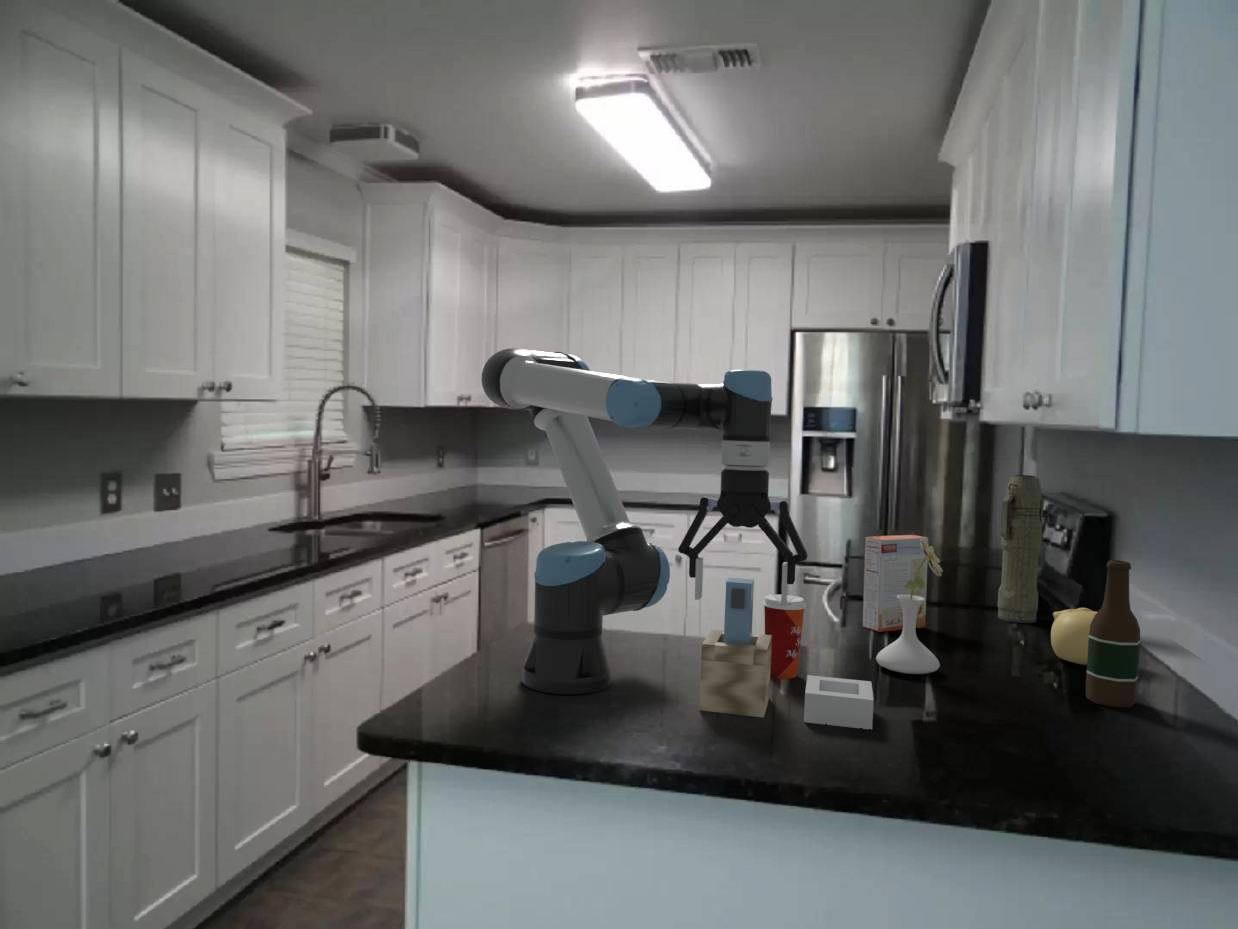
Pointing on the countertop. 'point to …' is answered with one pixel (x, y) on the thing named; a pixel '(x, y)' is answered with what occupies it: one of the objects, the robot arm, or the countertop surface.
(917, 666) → the flower in vase
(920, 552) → the cracker box
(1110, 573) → the beer bottle
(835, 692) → the block
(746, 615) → the plug
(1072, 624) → the sculpture
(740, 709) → the block
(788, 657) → the paper cup
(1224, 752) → the countertop surface
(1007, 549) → the thermos
